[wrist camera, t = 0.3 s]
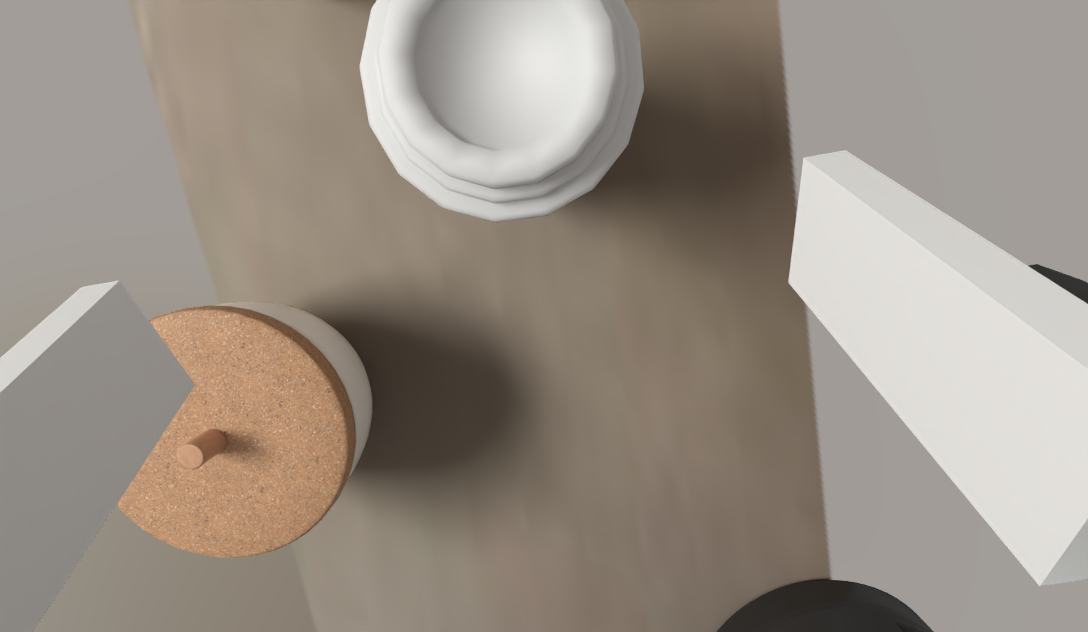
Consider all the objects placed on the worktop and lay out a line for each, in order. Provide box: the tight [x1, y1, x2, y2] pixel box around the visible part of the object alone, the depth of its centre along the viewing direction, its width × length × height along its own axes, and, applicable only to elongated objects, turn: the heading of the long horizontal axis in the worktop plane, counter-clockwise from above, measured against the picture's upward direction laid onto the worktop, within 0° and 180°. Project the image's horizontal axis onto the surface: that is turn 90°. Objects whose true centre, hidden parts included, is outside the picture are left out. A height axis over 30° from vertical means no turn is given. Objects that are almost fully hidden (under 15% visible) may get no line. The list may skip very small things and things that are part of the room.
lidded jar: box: [117, 302, 372, 557], centre depth 25 cm, size 11×11×9 cm
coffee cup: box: [360, 0, 644, 222], centre depth 22 cm, size 9×9×12 cm
